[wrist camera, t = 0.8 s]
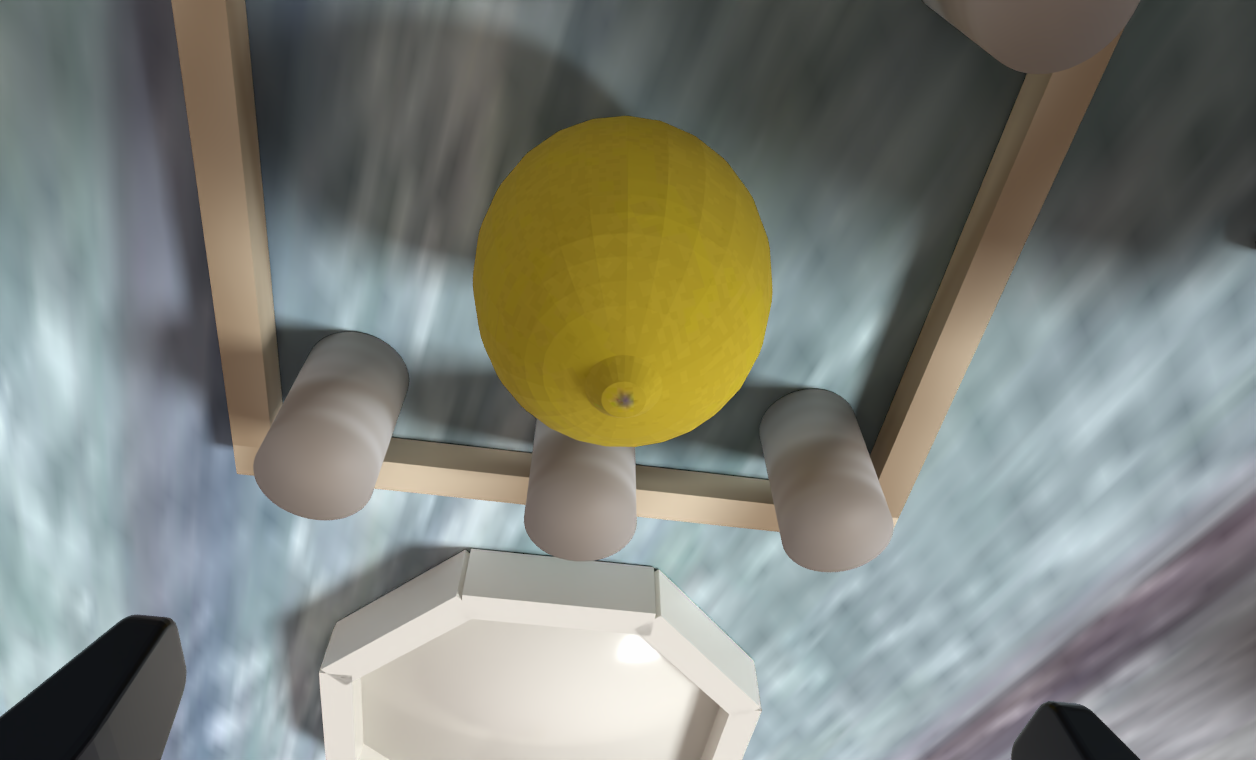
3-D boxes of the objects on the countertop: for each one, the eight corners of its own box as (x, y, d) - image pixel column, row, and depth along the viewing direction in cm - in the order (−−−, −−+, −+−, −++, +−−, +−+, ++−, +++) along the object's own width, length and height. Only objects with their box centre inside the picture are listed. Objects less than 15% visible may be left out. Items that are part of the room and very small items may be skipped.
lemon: (781, 238, 20) (857, 462, 14) (574, 330, 22) (554, 572, 15) (682, 16, 17) (719, 166, 11) (451, 139, 19) (362, 335, 12)
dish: (786, 580, 27) (795, 627, 26) (697, 814, 35) (700, 860, 34) (328, 534, 26) (311, 580, 24) (344, 788, 34) (332, 834, 32)
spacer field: (1201, -212, 15) (1357, -206, 12) (878, 518, 26) (915, 628, 22) (141, -424, 14) (-9, -482, 10) (249, 449, 24) (191, 557, 21)
